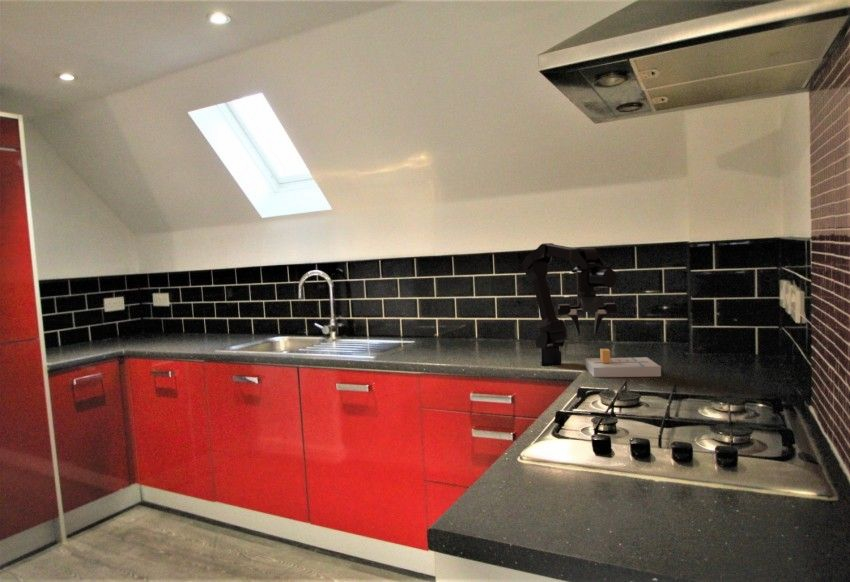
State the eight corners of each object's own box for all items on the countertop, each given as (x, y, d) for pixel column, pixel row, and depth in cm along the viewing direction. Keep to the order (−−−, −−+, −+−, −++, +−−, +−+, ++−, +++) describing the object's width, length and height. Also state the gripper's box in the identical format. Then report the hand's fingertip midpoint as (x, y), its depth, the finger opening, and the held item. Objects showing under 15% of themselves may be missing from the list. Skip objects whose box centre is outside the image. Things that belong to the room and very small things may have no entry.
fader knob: (602, 370, 188) (602, 350, 187) (600, 367, 191) (600, 348, 191) (610, 370, 187) (610, 350, 187) (608, 367, 191) (607, 348, 191)
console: (593, 377, 182) (593, 367, 182) (585, 367, 198) (585, 358, 198) (661, 376, 180) (660, 366, 180) (647, 366, 196) (647, 356, 195)
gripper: (559, 289, 181) (560, 339, 182) (621, 287, 179) (622, 338, 180) (555, 287, 192) (556, 334, 193) (614, 285, 190) (615, 333, 191)
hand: (587, 335), depth 189 cm, fingers open, 5 cm apart
